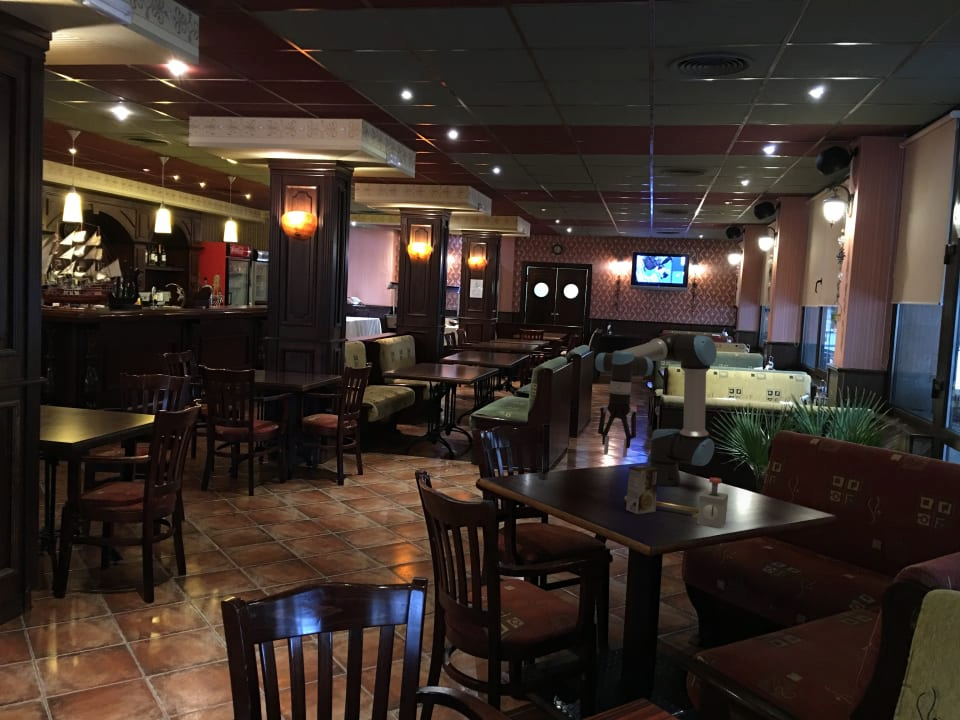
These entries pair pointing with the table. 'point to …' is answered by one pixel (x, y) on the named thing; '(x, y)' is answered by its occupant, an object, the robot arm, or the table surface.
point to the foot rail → (676, 507)
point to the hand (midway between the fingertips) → (615, 455)
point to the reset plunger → (714, 484)
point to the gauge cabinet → (712, 509)
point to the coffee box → (642, 489)
